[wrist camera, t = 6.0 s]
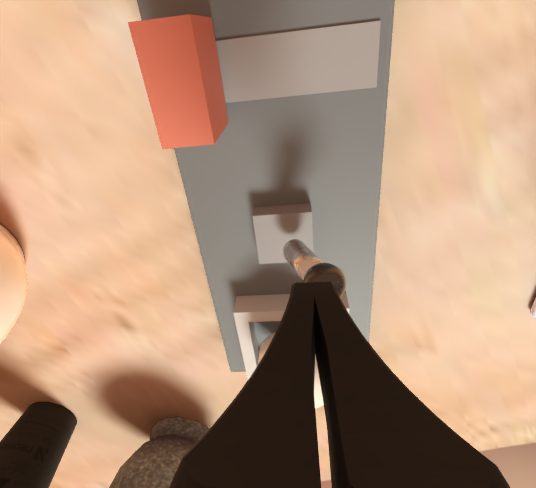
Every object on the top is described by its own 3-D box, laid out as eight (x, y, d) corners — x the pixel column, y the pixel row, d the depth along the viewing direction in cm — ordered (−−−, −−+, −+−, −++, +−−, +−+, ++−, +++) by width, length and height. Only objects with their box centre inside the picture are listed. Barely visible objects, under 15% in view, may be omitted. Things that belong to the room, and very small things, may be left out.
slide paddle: (211, 17, 13) (190, 14, 10) (228, 122, 15) (214, 144, 12) (162, 23, 13) (127, 22, 11) (186, 127, 16) (162, 149, 13)
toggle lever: (304, 225, 17) (355, 271, 13) (306, 255, 18) (354, 305, 14) (271, 235, 17) (315, 285, 13) (275, 265, 17) (316, 319, 14)
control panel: (386, -64, 13) (413, -90, 11) (361, 347, 26) (370, 387, 23) (146, -28, 15) (109, -43, 12) (234, 350, 27) (227, 389, 24)
